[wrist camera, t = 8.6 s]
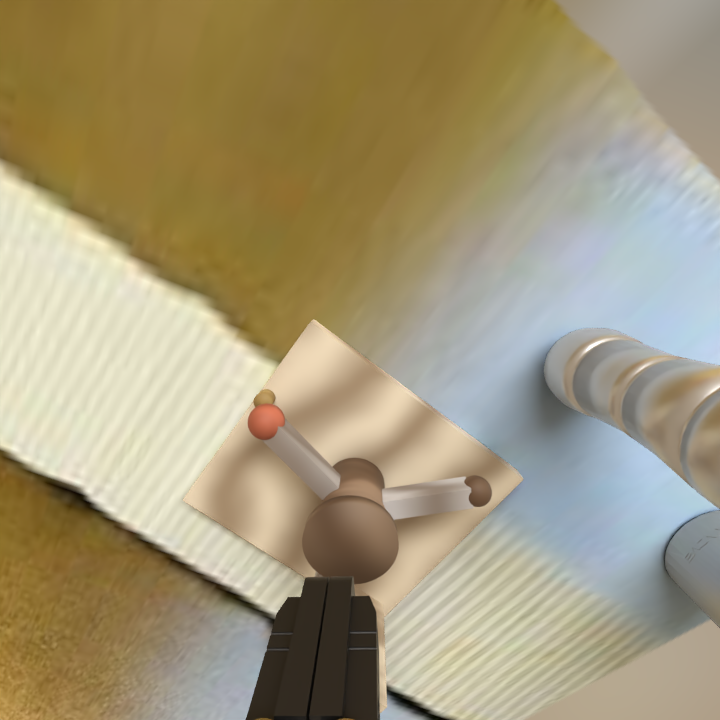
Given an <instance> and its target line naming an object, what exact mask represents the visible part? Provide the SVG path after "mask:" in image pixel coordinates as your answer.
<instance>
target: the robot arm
mask: <svg viewBox="0 0 720 720" xmlns="http://www.w3.org/2000/svg"><path fill="white" fill-rule="evenodd" d="M665 564H666V569H667V571H668V574H669V576H670V577H671V578H672V579H673V580H674V582H675V583H676V584H677V585H678V586H679V587H680V588H681V589H682V590H683V591H684V592H685V593H686V594H687V595H688V596H689V597H690V598H691V599H692V600H693V601H694V602H695V603H696V604H697V605H698V606H699V607H700V608H701V609H702V610H703V611H704V612H705V613H706V614H707V615H708V616H709V617H710V619H711V620H712V621H713V622H714V623H715V624H716V625H717V626H718V627H719V628H720V510H718V511H713V512H709V513H706V514H703V515H701V516H699V517H697V518H694V519H692V520H691V521H690V522H688V523H687V524H685V525H684V526H683V527H682V528H681V529H680V530H679V531H678V532H677V533H676V534H675V535H674V536H673V538H672V539H671V541H670V543H669V545H668V547H667V550H666V555H665ZM379 688H380V687H379V642H378V627H377V613H376V610H375V607H374V605H373V603H372V600H371V598H370V596H355V587H354V577H353V576H334V577H330V578H329V577H306V579H305V582H304V586H303V590H302V594H301V597H288V598H287V600H286V601H285V603H284V604H283V605H282V607H281V608H280V610H279V611H278V613H277V615H276V618H275V622H274V625H273V629H272V634H271V636H270V639H269V642H268V646H267V652H266V653H265V656H264V660H263V663H262V666H261V670H260V673H259V677H258V680H257V684H256V687H255V691H254V694H253V697H252V701H251V704H250V708H249V711H248V714H247V717H246V720H380V691H379Z"/></svg>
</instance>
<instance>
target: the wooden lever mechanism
mask: <svg viewBox="0 0 720 720" xmlns="http://www.w3.org/2000/svg"><path fill="white" fill-rule="evenodd" d="M266 403H269V404H273V405H276V406H277V407H279V408H280V409H281V410H282V412H283V414H284V416H285V419H286V420H287V421H288V422H289V423H290V424H291V425H292V426H293V427H294V428H295V429H296V430H297V431H298V432H299V433H300V434H301V435H302V436H303V437H304V438H305V439H306V440H307V441H308V442H309V443H310V444H311V446H312V447H313V448H314V449H315V450H316V451H317V452H318V453H319V454H320V455H321V456H322V457H323V458H324V459H325V460H326V461H327V462H328V463H329V464H330V465H331V466H332V467H333V466H334V465H335V464H336V463H338V462H339V461H341V460H344V459H347V458H362V459H365V460H368V461H370V462H372V463H373V464H374V465H376V466H377V467H378V469H379V470H380V471H381V473H382V475H383V478H384V484H385V488H391V487H398V486H404V485H411V484H418V483H424V482H431V481H438V480H444V479H451V478H458V477H464V476H465V477H466V478H467V477H469V476H472V475H477V476H480V477H483V478H484V479H486V480H487V481H488V483H489V484H490V486H491V489H492V497H491V500H490V501H489V503H488V504H486V505H485V506H482V507H474V506H473V507H474V508H472V509H465V510H458V511H451V512H444V513H437V514H430V515H423V516H416V517H409V518H402V519H395V520H394V522H395V524H396V527H397V532H398V541H399V550H398V555H397V557H396V560H395V562H394V564H393V565H392V566H391V568H390V569H389V570H388V571H387V572H386V573H385V574H383V575H382V576H380V577H379V578H377V579H375V580H373V581H370V582H367V583H362V584H354V587H355V596H370V598H371V600H372V603H373V605H374V607H375V610H376V613H377V627H378V642H379V687H380V688H379V691H380V713H381V712H382V711H383V710H384V709H385V708H387V693H386V664H385V636H384V617H385V616H386V615H387V614H388V613H389V612H390V611H391V610H392V609H393V608H394V607H395V606H396V605H397V604H398V603H399V602H400V601H401V600H402V599H403V598H404V597H405V596H406V595H407V594H408V593H409V592H410V591H411V590H412V589H413V588H414V587H415V586H416V585H417V584H418V583H419V582H420V581H421V580H422V579H423V578H424V577H425V576H426V575H427V574H428V573H430V572H431V571H432V570H433V569H434V568H435V567H436V566H437V565H438V564H439V563H440V562H441V561H442V560H443V559H444V558H445V557H446V556H447V555H448V554H449V553H450V552H451V551H452V550H453V549H454V548H455V547H456V546H457V545H458V544H459V543H460V542H461V541H462V540H463V539H464V538H465V537H466V536H467V535H468V534H469V533H470V532H471V531H472V530H473V529H474V528H475V527H476V526H477V525H478V524H479V523H480V522H481V521H482V520H483V519H484V518H485V517H486V516H487V515H488V514H489V513H490V512H491V511H492V510H493V509H494V508H495V507H496V506H497V505H498V504H499V503H500V502H501V501H502V500H503V499H504V498H505V497H506V496H507V495H508V494H509V493H510V492H511V491H512V490H513V489H514V488H515V487H516V486H517V485H518V484H519V483H520V482H521V481H523V480H524V479H523V478H522V476H521V475H520V474H519V472H518V471H517V469H515V468H514V467H512V466H511V465H510V464H508V463H507V462H506V461H504V460H503V459H502V458H500V457H499V456H498V455H496V454H495V453H494V452H492V451H491V450H490V449H488V448H487V447H485V446H484V445H483V444H481V443H480V442H479V441H477V440H476V439H475V438H473V437H472V436H471V435H469V434H468V433H467V432H465V431H464V430H463V429H461V428H460V427H458V426H457V425H456V424H454V423H453V422H452V421H450V420H449V419H448V418H446V417H445V416H444V415H442V414H441V413H440V412H438V411H437V410H436V409H434V408H433V407H432V406H430V405H429V404H427V403H426V402H425V401H423V400H422V399H421V398H419V397H418V396H417V395H415V394H414V393H413V392H411V391H410V390H409V389H407V388H406V387H405V386H403V385H402V384H400V383H399V382H398V381H396V380H395V379H394V378H392V377H391V376H390V375H388V374H387V373H386V372H384V371H383V370H382V369H380V368H379V367H378V366H376V365H375V364H373V363H372V362H371V361H369V360H368V359H367V358H365V357H364V356H363V355H361V354H360V353H359V352H357V351H356V350H355V349H353V348H352V347H351V346H349V345H348V344H347V343H345V342H344V341H342V340H341V339H340V338H338V337H337V336H336V335H334V334H333V333H332V332H330V331H329V330H328V329H326V328H325V327H324V326H322V325H321V324H320V323H318V322H317V321H315V320H314V319H313V320H312V321H311V322H310V323H309V325H308V326H307V327H306V329H305V330H304V331H303V333H302V334H301V336H300V337H299V338H298V340H297V341H296V343H295V344H294V345H293V347H292V348H291V350H290V351H289V352H288V354H287V355H286V357H285V358H284V359H283V361H282V362H281V363H280V365H279V366H278V368H277V369H276V370H275V372H274V373H273V375H272V376H271V377H270V379H269V380H268V382H267V383H266V384H265V386H264V387H263V389H262V390H261V391H260V393H259V394H258V395H257V396H256V397H255V398H254V401H253V402H252V404H251V405H250V407H249V408H248V409H247V411H246V412H245V414H244V415H243V416H242V418H241V419H240V421H239V422H238V423H237V425H236V426H235V428H234V429H233V430H232V432H231V433H230V434H229V436H228V437H227V439H226V440H225V441H224V443H223V444H222V446H221V447H220V448H219V450H218V451H217V453H216V454H215V455H214V457H213V458H212V460H211V461H210V462H209V464H208V465H207V466H206V468H205V469H204V471H203V472H202V473H201V475H200V476H199V478H198V479H197V480H196V482H195V483H194V485H193V486H192V487H191V489H190V490H189V492H188V493H187V494H186V496H185V497H184V498H183V501H184V502H186V503H187V504H189V505H191V506H192V507H194V508H195V509H197V510H199V511H200V512H202V513H203V514H205V515H207V516H208V517H210V518H211V519H213V520H215V521H216V522H218V523H219V524H221V525H223V526H224V527H226V528H227V529H229V530H231V531H232V532H234V533H235V534H237V535H238V536H240V537H242V538H243V539H245V540H246V541H248V542H250V543H251V544H253V545H254V546H256V547H258V548H259V549H261V550H262V551H264V552H266V553H267V554H269V555H270V556H272V557H274V558H275V559H277V560H278V561H280V562H281V563H283V564H285V565H286V566H288V567H289V568H291V569H293V570H294V571H296V572H297V573H299V574H301V575H302V576H304V577H305V578H306V577H314V576H315V573H316V571H315V570H314V569H313V568H312V567H311V565H310V564H309V563H308V561H307V559H306V557H305V555H304V552H303V548H302V537H303V532H304V529H305V525H306V522H307V519H308V517H309V516H310V514H311V513H312V511H313V510H314V509H315V508H316V507H317V506H319V505H320V504H321V500H322V499H321V498H320V497H319V496H318V495H317V494H316V493H315V492H314V491H313V490H312V489H311V488H310V487H309V486H308V485H307V484H306V483H305V482H304V481H303V480H302V479H301V478H300V477H299V476H298V475H297V474H296V473H295V472H294V471H293V470H292V469H291V468H290V467H289V466H288V465H287V464H286V463H285V462H284V461H283V460H281V459H280V458H279V457H278V456H277V455H276V454H275V453H274V452H273V451H272V450H271V449H270V448H269V447H268V446H267V445H266V444H265V443H264V442H263V441H262V440H260V439H258V438H256V437H254V436H253V435H252V434H251V432H250V431H249V428H248V417H249V414H250V413H251V411H252V410H253V409H254V408H255V407H257V406H258V405H261V404H266Z"/></svg>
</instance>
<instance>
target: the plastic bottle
mask: <svg viewBox="0 0 720 720" xmlns="http://www.w3.org/2000/svg"><path fill="white" fill-rule="evenodd" d="M544 376H545V380H546V383H547V385H548V387H549V388H550V390H551V391H552V392H553V393H554V395H555V396H556V397H557V398H558V399H559V400H560V401H561V402H562V403H563V404H564V405H566V406H567V407H569V408H571V409H573V410H576V411H578V412H580V413H583V414H585V415H587V416H590V417H594V418H597V419H599V420H601V421H603V422H605V423H607V424H609V425H611V426H613V427H615V428H617V429H619V430H621V431H623V432H624V433H626V434H627V435H629V436H630V437H631V438H633V439H634V440H636V441H637V442H638V443H640V444H641V445H643V446H644V447H645V448H647V449H648V450H649V451H651V452H652V453H654V454H655V455H656V456H657V457H658V458H659V459H661V460H662V461H663V462H664V463H665V464H666V465H667V466H668V467H670V468H671V469H672V470H673V471H674V472H675V473H676V474H678V475H679V476H680V477H681V478H682V479H683V480H684V481H685V482H687V483H688V484H689V485H690V486H691V487H692V488H694V489H695V490H696V491H697V492H698V493H699V494H700V495H702V496H703V497H704V498H706V499H707V500H708V501H709V502H711V503H712V504H713V505H715V506H716V507H717V508H719V509H720V365H715V364H710V363H705V362H701V361H696V360H692V359H687V358H682V357H677V356H674V355H671V354H669V353H666V352H663V351H661V350H658V349H655V348H653V347H650V346H647V345H645V344H643V343H641V342H640V341H638V340H637V339H635V338H632V337H630V336H628V335H626V334H623V333H621V332H619V331H617V330H613V329H608V328H584V329H578V330H575V331H572V332H570V333H568V334H566V335H564V336H563V337H562V338H560V339H559V340H558V341H557V342H556V343H555V344H554V345H553V346H552V348H551V349H550V351H549V353H548V354H547V357H546V360H545V364H544Z"/></svg>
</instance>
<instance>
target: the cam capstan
mask: <svg viewBox="0 0 720 720" xmlns="http://www.w3.org/2000/svg"><path fill="white" fill-rule="evenodd" d="M248 428H249V431H250V432H251V434H252V435H253V436H254V437H256V438H258V439H260V440H262V441H263V442H264V443H265V444H266V445H267V446H268V447H269V448H270V449H271V450H272V451H273V452H274V453H275V454H276V455H277V456H278V457H279V458H280V459H281V460H283V461H284V462H285V463H286V464H287V465H288V466H289V467H290V468H291V469H292V470H293V471H294V472H295V473H296V474H297V475H298V476H299V477H300V478H301V479H302V480H303V481H304V482H305V483H306V484H307V485H308V486H309V487H310V488H311V489H312V490H313V491H314V492H315V493H316V494H317V495H318V496H319V497H320V498H321V499H322V500H321V504H320V505H319V506H317V507H316V508H315V509H314V510H313V511H312V513H311V514H310V516H309V517H308V519H307V522H306V525H305V529H304V532H303V537H302V548H303V552H304V555H305V557H306V559H307V561H308V563H309V564H310V565H311V567H312V568H313V569H314V570H315V571H316V573H315V576H314V577H329V578H330V577H334V576H353V577H354V584H362V583H367V582H370V581H373V580H375V579H377V578H379V577H380V576H382V575H383V574H385V573H386V572H387V571H388V570H389V569H390V568H391V566H392V565H393V564H394V562H395V560H396V557H397V555H398V550H399V541H398V532H397V527H396V524H395V522H394V520H395V519H402V518H409V517H416V516H423V515H430V514H437V513H444V512H451V511H458V510H465V509H472V508H474V507H482V506H485V505H486V504H488V503H489V501H490V500H491V497H492V489H491V486H490V484H489V483H488V481H487V480H486V479H484V478H483V477H480V476H477V475H472V476H469V477H467V478H466V477H465V476H464V477H458V478H451V479H444V480H438V481H431V482H424V483H418V484H411V485H404V486H398V487H391V488H385V484H384V478H383V475H382V473H381V471H380V470H379V469H378V467H377V466H376V465H374V464H373V463H372V462H370V461H368V460H365V459H362V458H347V459H344V460H341V461H339V462H338V463H336V464H335V465H334V466H333V467H332V466H331V465H330V464H329V463H328V462H327V461H326V460H325V459H324V458H323V457H322V456H321V455H320V454H319V453H318V452H317V451H316V450H315V449H314V448H313V447H312V446H311V444H310V443H309V442H308V441H307V440H306V439H305V438H304V437H303V436H302V435H301V434H300V433H299V432H298V431H297V430H296V429H295V428H294V427H293V426H292V425H291V424H290V423H289V422H288V421H287V420H286V419H285V416H284V414H283V412H282V410H281V409H280V408H279V407H277V406H276V405H273V404H269V403H266V404H261V405H258V406H257V407H255V408H254V409H253V410H252V411H251V413H250V414H249V417H248ZM473 506H474V507H473Z"/></svg>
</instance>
